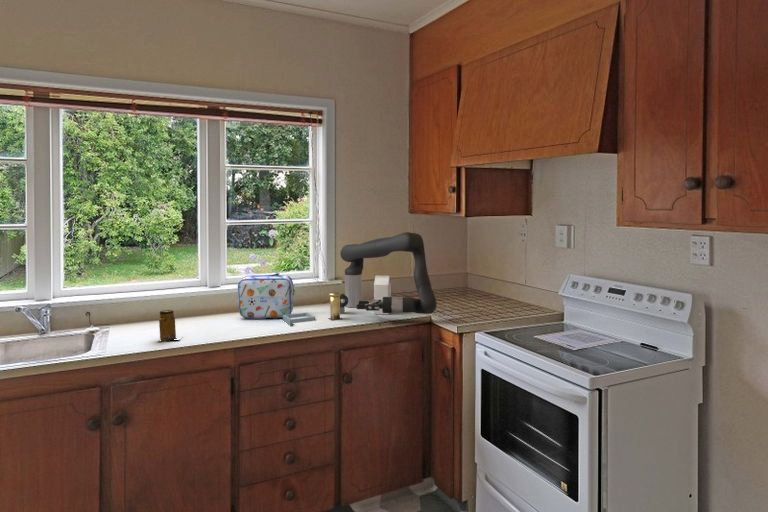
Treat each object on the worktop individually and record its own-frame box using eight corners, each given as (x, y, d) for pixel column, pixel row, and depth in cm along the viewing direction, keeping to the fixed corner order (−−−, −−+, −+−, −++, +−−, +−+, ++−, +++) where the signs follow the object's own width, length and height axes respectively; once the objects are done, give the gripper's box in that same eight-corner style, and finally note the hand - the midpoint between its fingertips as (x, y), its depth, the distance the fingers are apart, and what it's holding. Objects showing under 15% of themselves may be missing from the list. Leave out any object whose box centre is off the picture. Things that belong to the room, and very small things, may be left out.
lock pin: (328, 318, 244) (327, 292, 243) (338, 317, 247) (337, 292, 246) (332, 320, 240) (331, 294, 239) (342, 319, 242) (342, 293, 241)
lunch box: (297, 314, 262) (296, 270, 260) (295, 319, 251) (294, 273, 249) (241, 316, 260) (239, 272, 258) (237, 320, 250) (235, 274, 248)
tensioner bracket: (317, 317, 253) (317, 294, 252) (344, 314, 259) (344, 292, 258) (331, 325, 237) (330, 300, 236) (359, 321, 243) (359, 297, 242)
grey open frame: (282, 321, 247) (282, 315, 246) (307, 318, 252) (307, 312, 252) (290, 326, 236) (289, 319, 236) (315, 323, 241) (315, 316, 241)
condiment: (161, 338, 218) (159, 309, 216) (182, 337, 219) (181, 308, 218) (157, 342, 210) (155, 313, 209) (179, 341, 212) (177, 312, 211)
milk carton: (388, 315, 258) (387, 276, 256) (374, 314, 259) (373, 276, 257) (391, 312, 265) (390, 274, 263) (377, 311, 266) (376, 274, 264)
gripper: (393, 294, 248) (359, 294, 249) (392, 299, 234) (355, 299, 235) (393, 309, 248) (359, 310, 249) (392, 316, 234) (356, 316, 235)
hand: (357, 305), depth 242 cm, fingers open, 8 cm apart
